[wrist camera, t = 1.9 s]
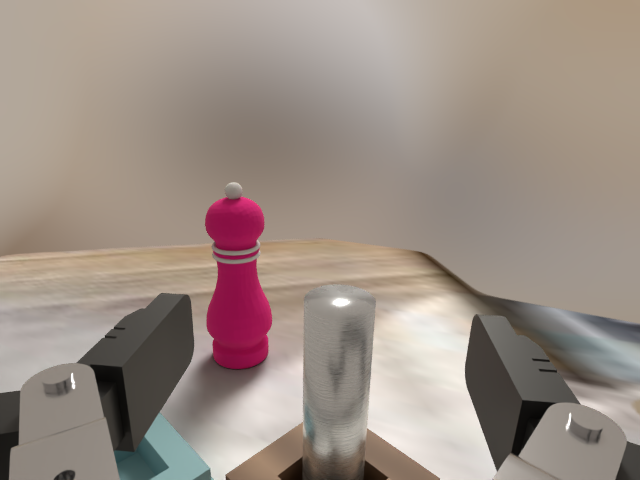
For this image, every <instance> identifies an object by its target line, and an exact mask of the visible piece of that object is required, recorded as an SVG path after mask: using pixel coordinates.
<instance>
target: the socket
mask: <svg viewBox="0 0 640 480" xmlns="http://www.w3.org/2000/svg"><path fill="white" fill-rule="evenodd" d="M114 456H115V460H116V465H117V469H118V474H119V478H120V480H214V479H213V478H212V477H211V472H210V468H209V467H208V465H207V464H206V463H205V462H204V461H203V460H202V459H201V458H200V457H199V455H198V454H197V453H196V452H195V451H194V450H193V449H192V448H191V447H190V445H189V444H188V443H187V442H186V441H185V440H184V439H183V438H182V437H181V436H180V434H179V433H178V432H177V431H176V430H175V429H174V428H173V427H172V426H171V424H170V423H169V422H168V421H167V420H166V419H165V418H164V417H163V416H162V414H161V413H160V412H159V414H158V415H157V417H156V418H155V420H154V422H153V423H152V425H151V426H150V428H149V430H148V431H147V433H146V434H145V436H144V438H143V439H142V441H141V442H140V444H139V445H138V447H137V449H136V450H135V452H127V451H116V450H115V451H114Z"/></svg>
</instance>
